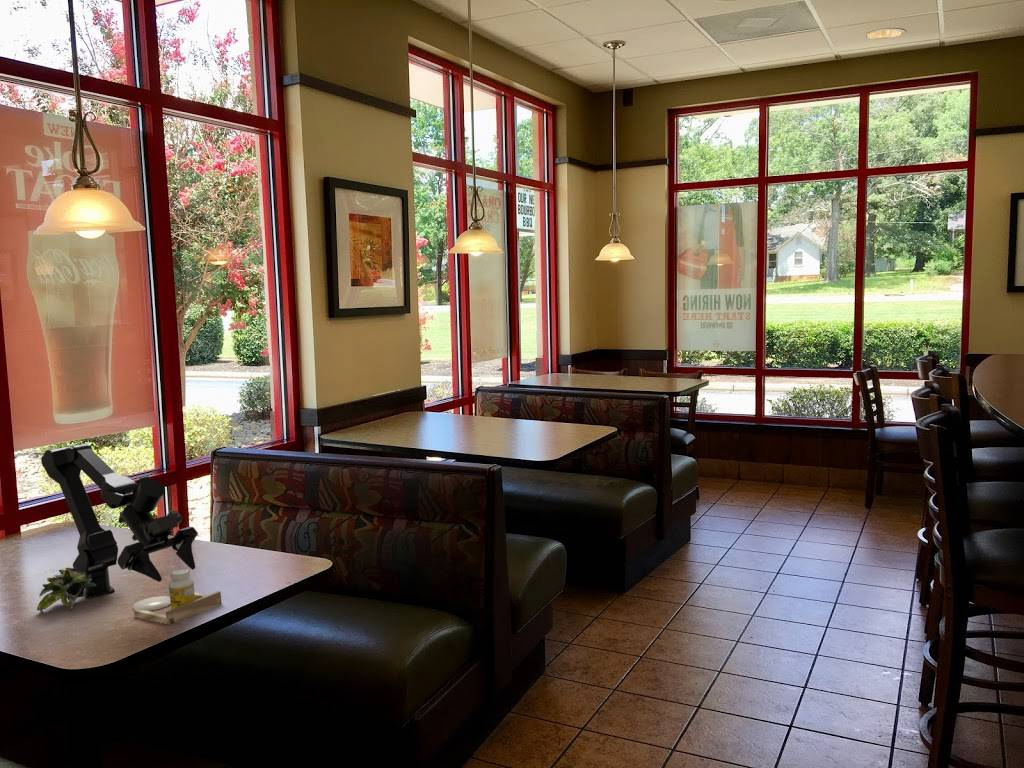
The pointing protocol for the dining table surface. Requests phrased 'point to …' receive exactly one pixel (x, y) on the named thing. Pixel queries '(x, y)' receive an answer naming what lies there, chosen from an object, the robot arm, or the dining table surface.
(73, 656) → the dining table surface
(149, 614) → the wooden slat frame
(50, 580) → the green leafy plant
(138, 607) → the coaster
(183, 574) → the supplement bottle
